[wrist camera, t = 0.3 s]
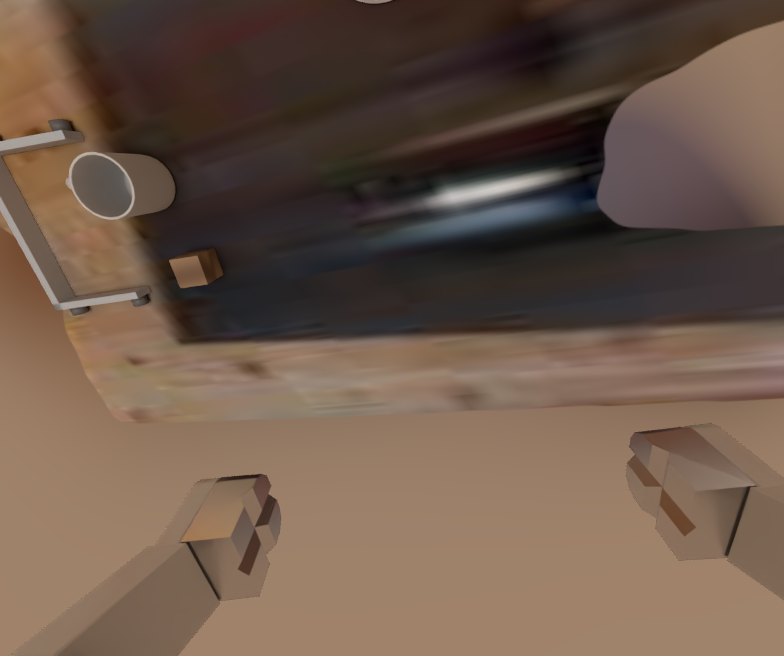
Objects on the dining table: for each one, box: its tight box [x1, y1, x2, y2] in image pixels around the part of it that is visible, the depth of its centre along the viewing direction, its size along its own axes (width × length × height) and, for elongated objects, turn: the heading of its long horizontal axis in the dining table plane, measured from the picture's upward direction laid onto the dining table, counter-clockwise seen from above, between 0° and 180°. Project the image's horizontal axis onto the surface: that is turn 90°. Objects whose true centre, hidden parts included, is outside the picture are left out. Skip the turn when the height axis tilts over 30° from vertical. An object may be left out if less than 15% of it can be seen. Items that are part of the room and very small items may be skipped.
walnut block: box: [169, 248, 223, 288], centre depth 52 cm, size 4×4×5 cm
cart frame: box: [0, 119, 151, 316], centre depth 51 cm, size 25×13×3 cm, turn 9°
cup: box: [65, 152, 175, 220], centre depth 46 cm, size 7×10×9 cm
